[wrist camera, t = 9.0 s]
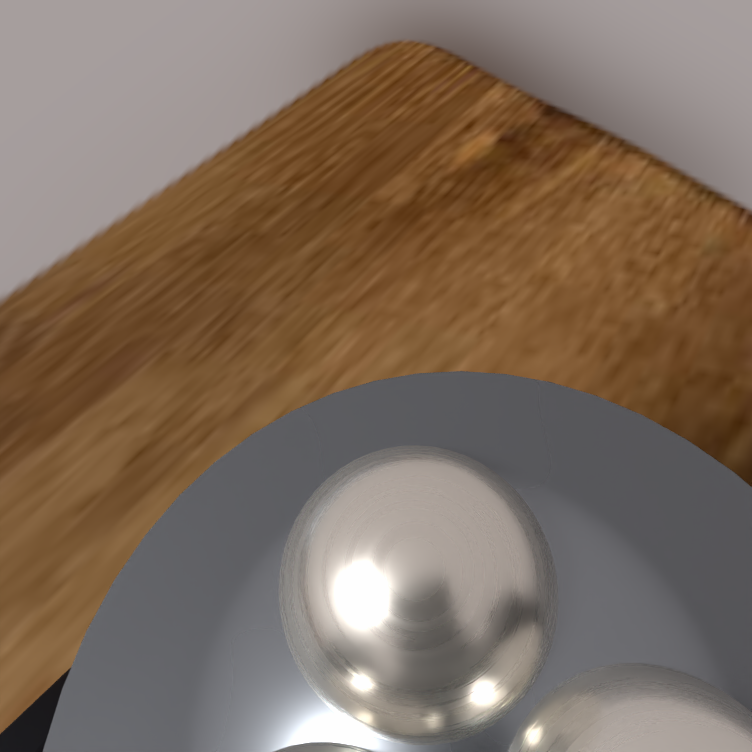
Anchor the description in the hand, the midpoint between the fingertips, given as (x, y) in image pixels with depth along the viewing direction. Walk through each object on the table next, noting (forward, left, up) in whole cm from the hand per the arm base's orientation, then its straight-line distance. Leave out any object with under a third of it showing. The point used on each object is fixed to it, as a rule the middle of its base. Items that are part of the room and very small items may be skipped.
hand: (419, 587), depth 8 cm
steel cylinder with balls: (-1, -1, -8) cm, 8 cm away
